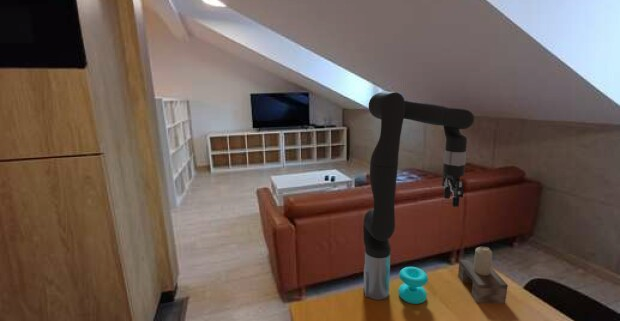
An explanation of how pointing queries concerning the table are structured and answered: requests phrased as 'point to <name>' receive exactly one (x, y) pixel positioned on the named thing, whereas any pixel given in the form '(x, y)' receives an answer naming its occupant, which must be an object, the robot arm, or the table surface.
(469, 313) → the table surface
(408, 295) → the turquoise spool
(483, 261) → the candle
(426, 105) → the robot arm
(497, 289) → the bridge
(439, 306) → the table surface
